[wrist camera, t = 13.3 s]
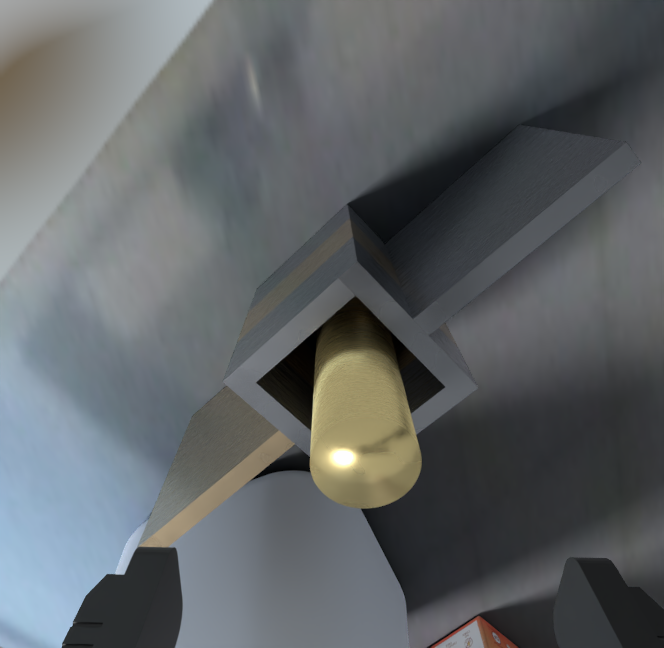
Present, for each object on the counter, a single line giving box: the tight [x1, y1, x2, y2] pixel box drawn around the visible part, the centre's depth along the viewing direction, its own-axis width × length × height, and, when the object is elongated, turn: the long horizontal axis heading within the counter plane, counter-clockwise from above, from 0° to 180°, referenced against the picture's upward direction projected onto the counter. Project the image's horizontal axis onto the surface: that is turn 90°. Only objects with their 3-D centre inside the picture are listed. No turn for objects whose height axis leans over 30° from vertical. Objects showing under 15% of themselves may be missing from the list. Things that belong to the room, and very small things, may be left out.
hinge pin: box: [310, 295, 422, 509], centre depth 21 cm, size 3×3×14 cm
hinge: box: [136, 125, 641, 549], centre depth 23 cm, size 22×6×10 cm, turn 133°
